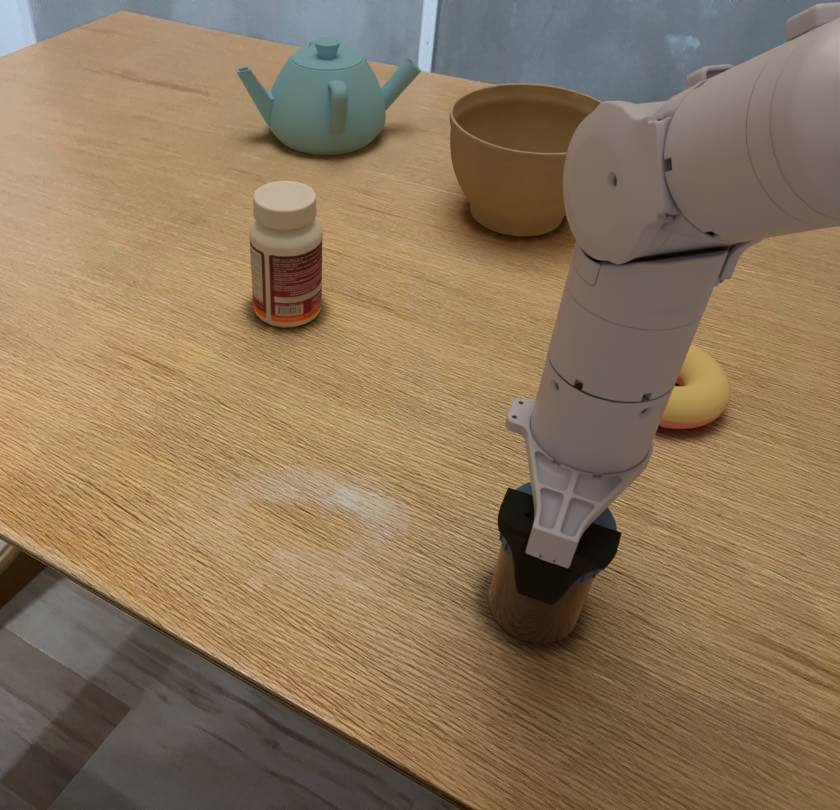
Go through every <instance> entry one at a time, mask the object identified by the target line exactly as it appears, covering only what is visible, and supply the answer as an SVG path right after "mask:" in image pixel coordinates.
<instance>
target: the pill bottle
mask: <svg viewBox="0 0 840 810" xmlns="http://www.w3.org/2000/svg"><path fill="white" fill-rule="evenodd" d="M252 203H253V204H252V205H253V207H252V210H253V211H252V213H253V218H254V220H253V221H252V223H251V224H250V227H249V232H248V233H249V237H248V238H249V253H250V272H251V274H250V275H251V290H252V291H251V292H252V293H251V294H252V307H253V311H254V313H255V315H256V316H257V317H258V319H260V320H261V321H262V322H264V323H266V324H268V325H270V326H273V327H278V328H294V327H300V326H302V325H306V324H308V323H310V322H311V321H313V320H314V319H315V318H316V317H318V316H319V314H320V312H321V310H322V309H321V308H322V302H323V300H322V299H323V298H322V297H323V293H322V292H323V290H322V288H323V239H324V238H323V227H322V225H321V223H320V221H319V220H318V219H317V218H316V217H317V212H318V210H317V194H316V191H315V190H314V189H313V188H312V187H311V186H309V185H308V184H306V183H304V182H299V181H294V180H278V181H277V180H276V181H272V182H267V183H265V184H263V185H261V186H259V187H258V188H256V190H255V191H254V193H253V197H252Z"/></svg>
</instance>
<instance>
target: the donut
mask: <svg viewBox="0 0 840 810" xmlns="http://www.w3.org/2000/svg"><path fill="white" fill-rule="evenodd" d="M675 384H676V385H675V386H674V388H673V391H672V393H671V396H670V398H669V401H668V404H667V406H666V409H665V411H664V414H663V416H662V419H661V421H660V424H659V426H658V428H659V427H660V428H665V429H673V430H687V429H695V428H699V427H703V426H705V425H707V424H710V423H712V422H713V421H715V420H716V419H718V418H719V417H720V416H721V415H722V414H723V413H724V412H725V410H726V408H727V407H728V405H729V402H730V398H731V385H730V384H731V383H730V380H729V377H728V376H727V374H726V372H725V370H724V369H723V367H722V366H721V364H720V363H719V362H718V361H717V360H716V359H714V357H713V356H712V355H710V354H709V353H708V352H706V351H705V350H704V349H702V348H700V347H698V346H697V345H694V344H692V343H691V346H690V348H689V351H688V353H687V355H686V358H685V360H684V363H683V365H682V368H681V370H680V373H679V375H678V378H677V381H676V383H675Z"/></svg>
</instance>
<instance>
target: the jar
mask: <svg viewBox="0 0 840 810" xmlns="http://www.w3.org/2000/svg"><path fill="white" fill-rule="evenodd" d="M500 543H501V542H500ZM499 547H500V548H499V550H498V555H497V559H496V563H495V567H494V572H493V575H492V579H491V582H490V586H489V589H488V594H487V595H488V596H487V601H488V607H489V611H490V613H491V614H492V617H493V619H494V620H495V622H496V623H497V624H498V625H499V626H500V628H502V629H503V630H504V631H505V632H507V633H508V634H510V635H512V636H513V637H515V638H517V639H518V640H521V641H524V642H527V643H533V644H544V645H545V644H552V643H555V642H558V641H561V640H562V639H564V638H566V637H567V636H568V635H570V634H571V632H573V630H574V629H575V626H576V625H577V622H578V619H579V617H580V616H581V612H582V610H583V607H584V604H585V602H586V599H587V598H588V594H589V592H590V590H591V587H592V584H593V582H594V580H595V578H591V579H589V580H587V581H584V582H583V583H575V584H573V585H572V586H571V587H570V588H569V589H568V591H567V592H566V593H565V594H564V595H563V596H562V597H561V598H560V599H559V600H558V601H557V602H556V603H555V604H554V605H548V604H546V603H543V602H540V601H538V600H535V599H532V598H530V597H527V596H524V595H522V594H519V593H518V592H517V590H516V585H515V578H514V563H513V562H512V560H511V559H510V558H509V557H508V555H507V554H506V552H504V548H503V546H502V543H501V544H500V546H499Z"/></svg>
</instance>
